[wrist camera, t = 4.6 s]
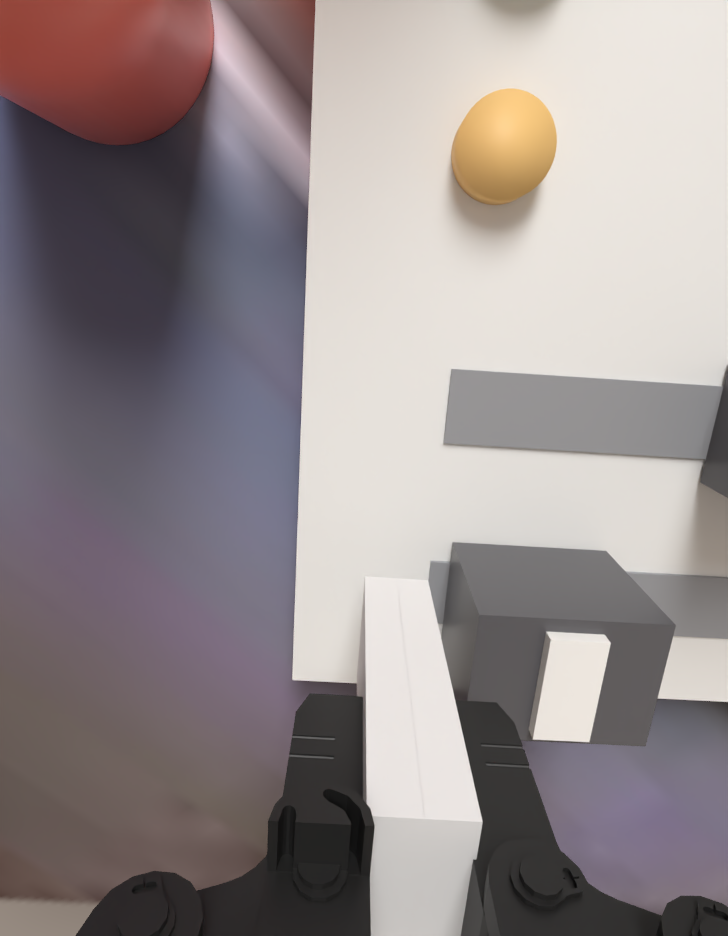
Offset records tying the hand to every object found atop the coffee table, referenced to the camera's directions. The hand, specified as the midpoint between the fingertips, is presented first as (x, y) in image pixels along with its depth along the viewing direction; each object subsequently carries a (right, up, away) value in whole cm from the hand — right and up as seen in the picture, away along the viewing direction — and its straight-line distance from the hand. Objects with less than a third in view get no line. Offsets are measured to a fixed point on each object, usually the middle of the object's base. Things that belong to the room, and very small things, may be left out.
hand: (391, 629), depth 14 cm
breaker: (+4, 0, +2) cm, 4 cm away
